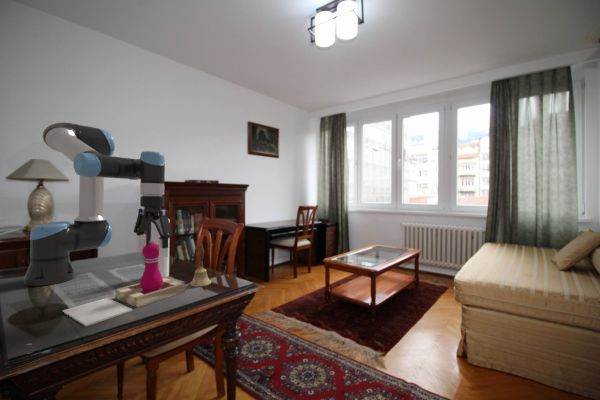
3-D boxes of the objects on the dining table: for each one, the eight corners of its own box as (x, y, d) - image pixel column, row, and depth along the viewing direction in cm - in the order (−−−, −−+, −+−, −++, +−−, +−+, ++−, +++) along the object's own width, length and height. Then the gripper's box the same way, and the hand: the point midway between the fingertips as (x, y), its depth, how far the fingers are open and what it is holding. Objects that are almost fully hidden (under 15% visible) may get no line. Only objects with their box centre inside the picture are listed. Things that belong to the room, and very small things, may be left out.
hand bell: (187, 287, 105) (188, 246, 104) (191, 280, 113) (192, 242, 112) (210, 286, 106) (210, 246, 106) (212, 279, 114) (213, 242, 114)
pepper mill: (152, 299, 92) (153, 241, 91) (134, 297, 93) (135, 240, 93) (167, 292, 99) (167, 238, 98) (150, 290, 100) (150, 237, 100)
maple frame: (115, 297, 92) (115, 289, 92) (162, 284, 107) (162, 276, 107) (137, 307, 85) (137, 298, 85) (184, 291, 100) (184, 283, 100)
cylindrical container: (150, 279, 113) (150, 220, 112) (150, 274, 119) (151, 218, 118) (169, 277, 116) (169, 219, 115) (168, 272, 122) (169, 218, 122)
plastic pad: (62, 312, 81) (62, 310, 81) (107, 299, 91) (107, 297, 91) (85, 326, 73) (85, 324, 73) (132, 310, 83) (132, 309, 83)
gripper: (184, 196, 92) (183, 257, 92) (143, 195, 105) (143, 249, 105) (163, 196, 86) (162, 262, 86) (123, 195, 99) (123, 252, 99)
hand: (152, 255), depth 96 cm, fingers open, 13 cm apart
